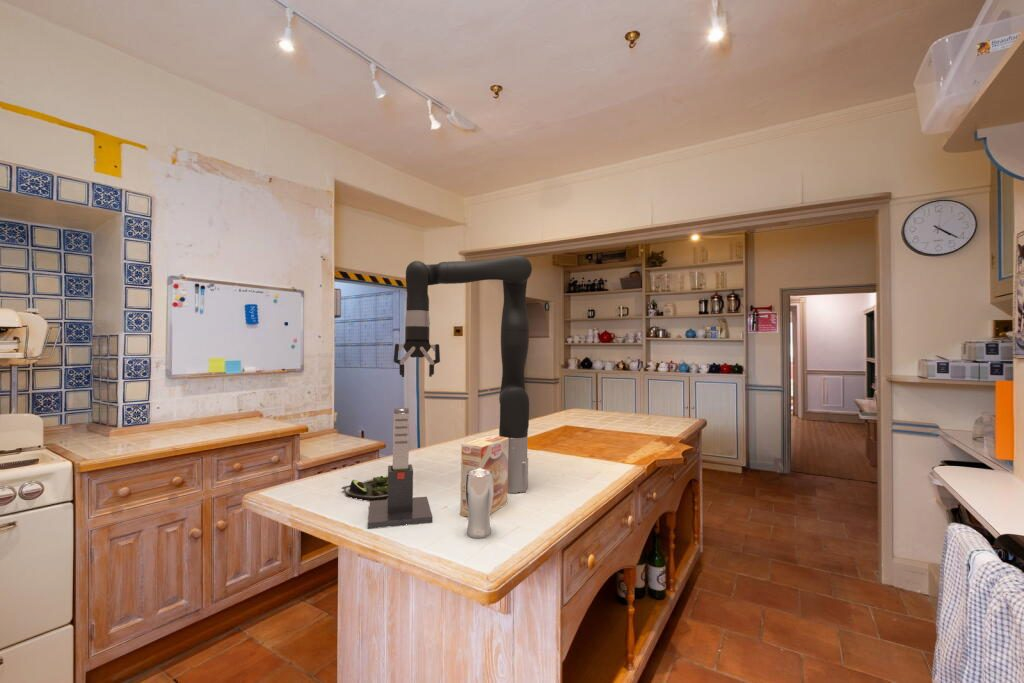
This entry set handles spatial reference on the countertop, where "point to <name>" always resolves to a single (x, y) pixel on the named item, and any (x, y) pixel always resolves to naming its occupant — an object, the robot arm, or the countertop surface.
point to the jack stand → (399, 503)
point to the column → (400, 439)
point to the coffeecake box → (486, 467)
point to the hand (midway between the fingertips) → (416, 376)
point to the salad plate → (368, 489)
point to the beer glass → (479, 502)
